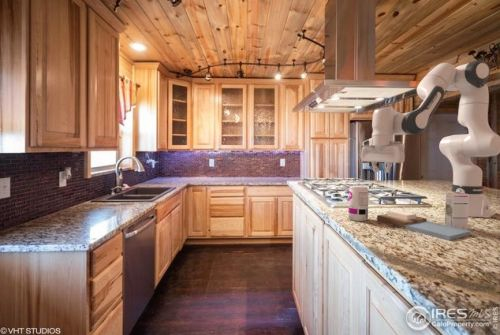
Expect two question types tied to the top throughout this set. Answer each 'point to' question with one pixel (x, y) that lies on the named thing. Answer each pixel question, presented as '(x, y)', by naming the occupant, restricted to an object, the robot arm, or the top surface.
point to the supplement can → (358, 203)
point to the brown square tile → (398, 220)
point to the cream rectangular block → (401, 214)
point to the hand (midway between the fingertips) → (381, 172)
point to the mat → (438, 230)
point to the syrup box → (457, 210)
